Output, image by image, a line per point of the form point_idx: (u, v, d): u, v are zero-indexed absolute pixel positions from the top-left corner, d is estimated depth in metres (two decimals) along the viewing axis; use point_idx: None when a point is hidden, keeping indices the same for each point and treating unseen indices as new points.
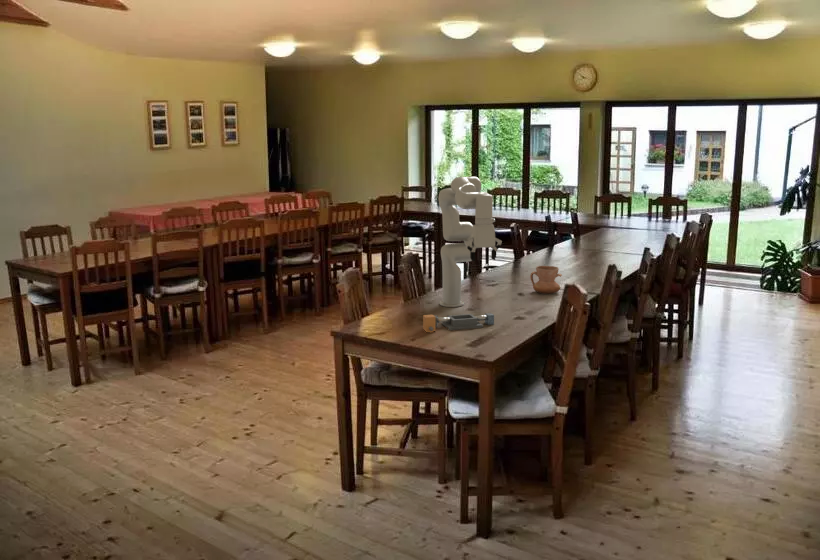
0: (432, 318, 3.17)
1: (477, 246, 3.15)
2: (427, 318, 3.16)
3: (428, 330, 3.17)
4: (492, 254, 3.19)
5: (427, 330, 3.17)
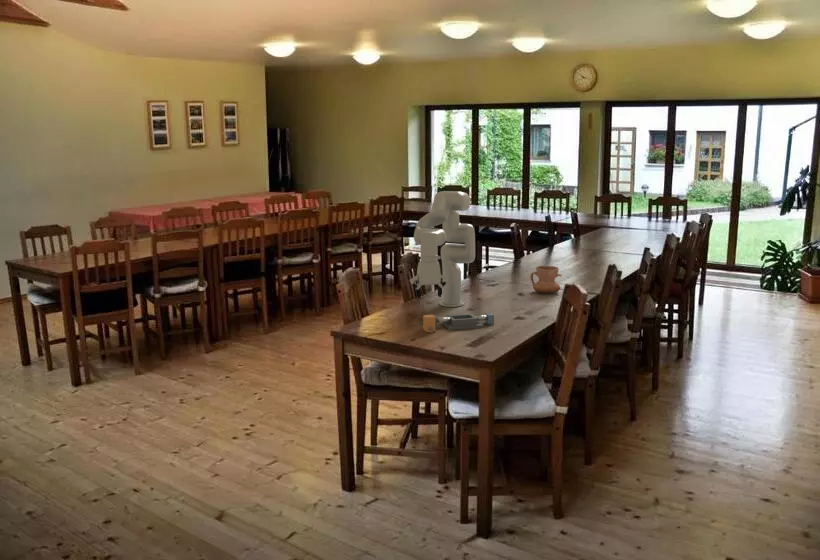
0: (432, 318, 3.17)
1: (422, 283, 3.12)
2: (427, 318, 3.16)
3: (428, 330, 3.17)
4: (438, 291, 3.17)
5: (427, 330, 3.17)
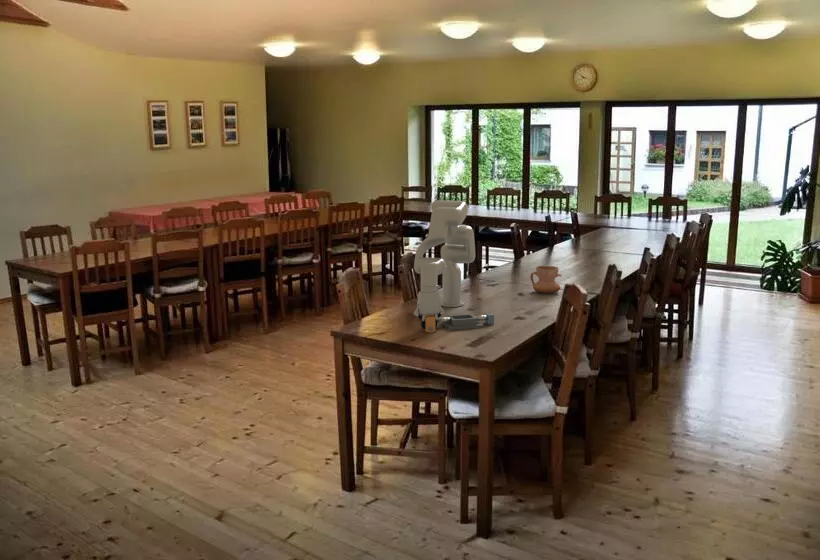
0: (432, 318, 3.17)
1: (422, 313, 3.15)
2: (427, 318, 3.16)
3: (428, 330, 3.17)
4: None
5: (427, 330, 3.17)
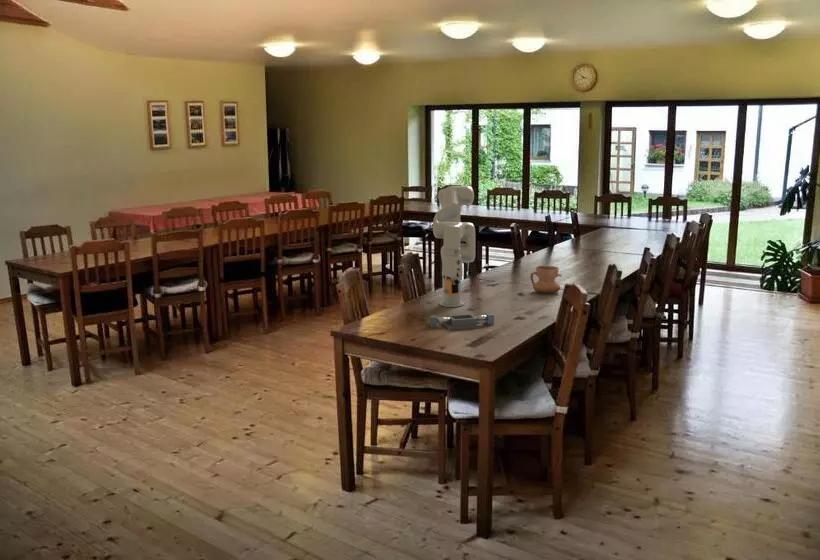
0: (448, 281, 3.19)
1: (443, 274, 3.22)
2: (445, 280, 3.21)
3: (446, 292, 3.22)
4: None
5: None
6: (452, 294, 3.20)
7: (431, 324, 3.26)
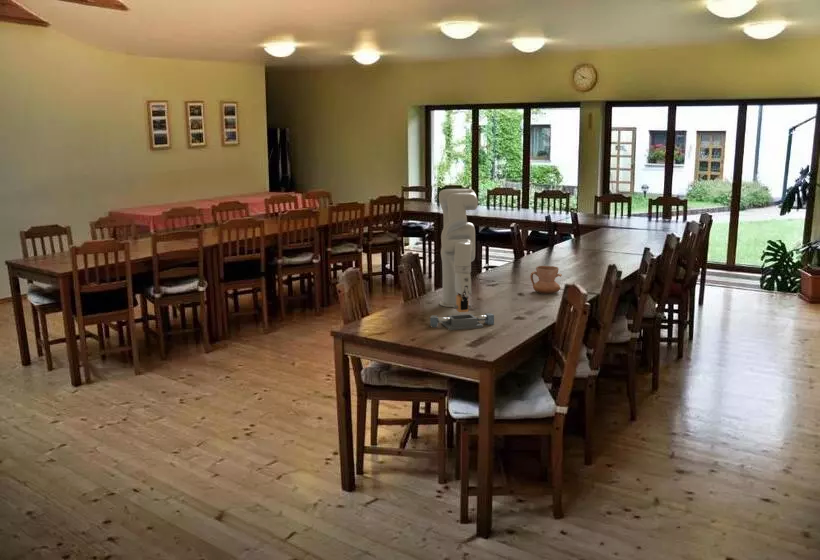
0: (458, 298, 3.24)
1: (455, 290, 3.27)
2: (456, 296, 3.26)
3: (457, 308, 3.27)
4: None
5: None
6: (461, 310, 3.24)
7: (431, 324, 3.26)
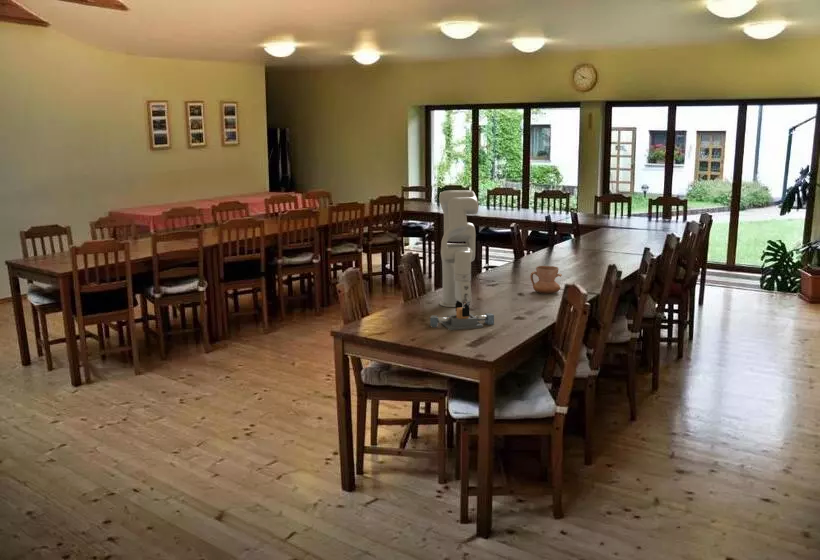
0: (458, 310, 3.25)
1: (455, 298, 3.28)
2: (456, 309, 3.27)
3: None
4: None
5: None
6: None
7: (431, 324, 3.26)
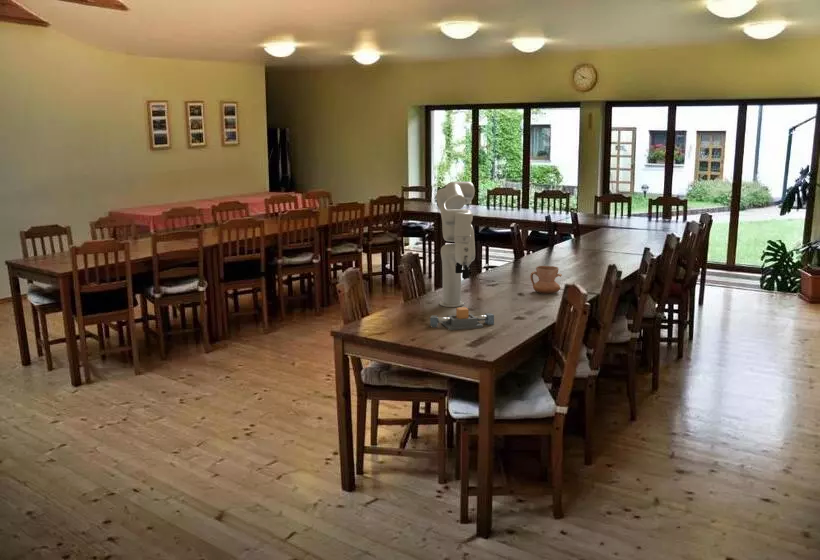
0: (458, 310, 3.25)
1: (455, 260, 3.30)
2: (456, 309, 3.27)
3: None
4: None
5: None
6: None
7: (431, 324, 3.26)
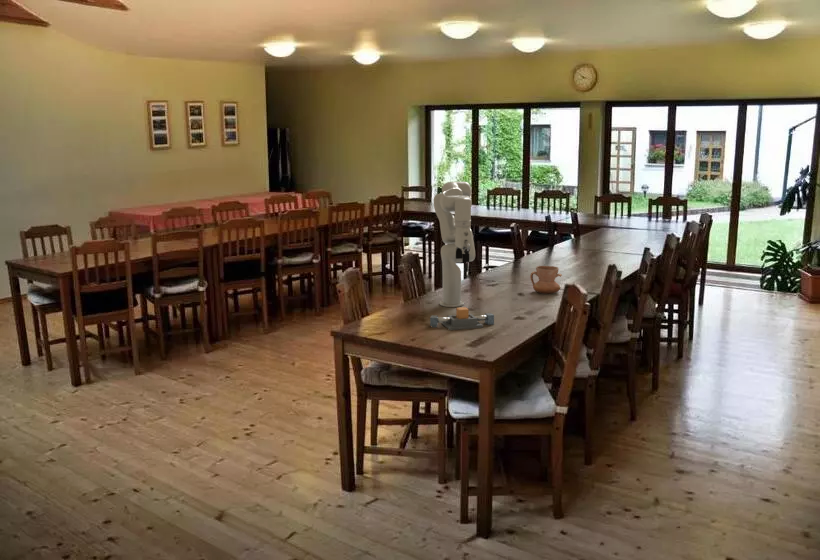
0: (458, 310, 3.25)
1: (456, 245, 3.36)
2: (456, 309, 3.27)
3: None
4: None
5: None
6: None
7: (431, 324, 3.26)
